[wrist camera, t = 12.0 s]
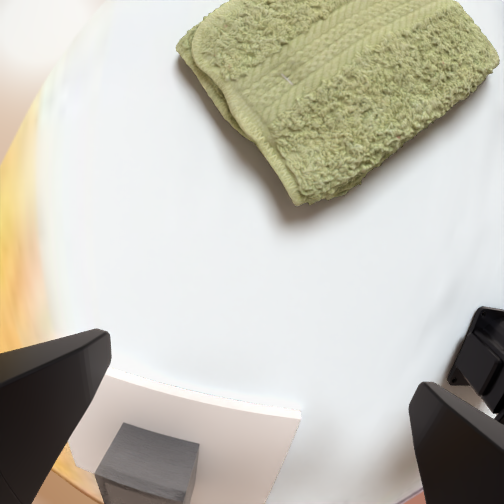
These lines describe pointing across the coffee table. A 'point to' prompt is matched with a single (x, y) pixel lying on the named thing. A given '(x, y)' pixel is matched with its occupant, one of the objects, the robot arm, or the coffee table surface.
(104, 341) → the robot arm
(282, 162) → the washcloth
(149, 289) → the coffee table surface
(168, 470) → the dark grey framed cube
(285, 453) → the post plate
